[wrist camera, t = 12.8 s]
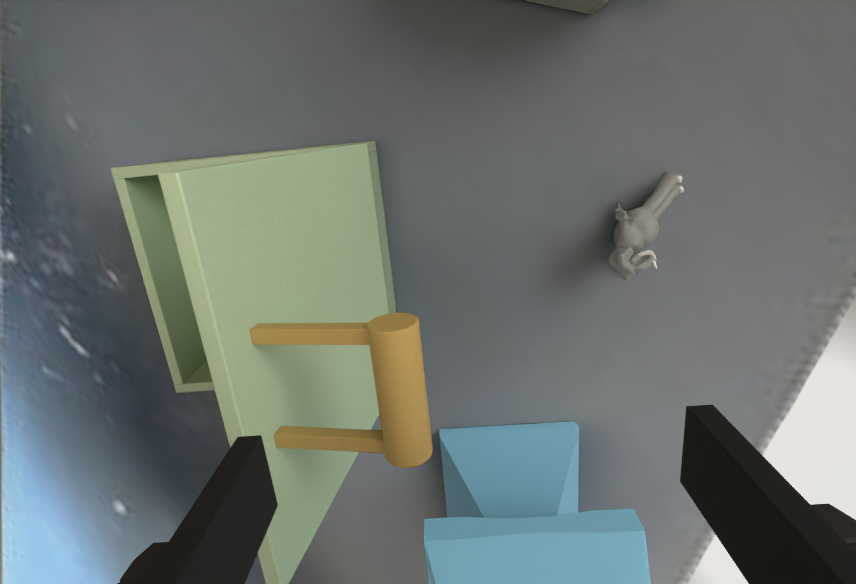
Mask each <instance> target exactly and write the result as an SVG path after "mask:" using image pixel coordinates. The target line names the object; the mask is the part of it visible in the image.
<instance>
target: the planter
mask: <svg viewBox="0 0 856 584" xmlns="http://www.w3.org/2000/svg"><path fill="white" fill-rule="evenodd" d="M440 446H441V457H442V467H443V477H444V488H445V498H446V508H447V518H432V519H425V522H424V549H425V557H426V565H427V574H428V581H429V584H651V581H650V573H649V564H648V555H647V547H646V538H645V530H644V528H643V526H642V524H641V522H640V520H639V518H638V516H637V514H636V512H635V510H634V508H633V509H613V510H593V511H585V512H578V475H579V427H578V425H577V422H576V421H568V422H551V423H534V424H518V425H501V426H484V427H468V428H451V429H440Z"/></svg>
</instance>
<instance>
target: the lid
mask: <svg viewBox="0 0 856 584" xmlns="http://www.w3.org/2000/svg"><path fill="white" fill-rule="evenodd" d="M158 177H159V181H160V184H161V188H162V192H163V196H164V200H165V203H166V207H167V211H168V215H169V219H170V222H171V226H172V230H173V234H174V237H175V241H176V245H177V249H178V253H179V256H180V260H181V264H182V268H183V271H184V275H185V279H186V283H187V287H188V290H189V294H190V298H191V302H192V306H193V309H194V313H195V317H196V321H197V324H198V328H199V332H200V336H201V340H202V343H203V347H204V351H205V355H206V358H207V362H208V366H209V370H210V374H211V377H212V381H213V385H214V389H215V393H216V396H217V400H218V404H219V408H220V411H221V415H222V419H223V423H224V427H225V430H226V434H227V438H228V442H229V445H230V448H231V446H232V445H233V443H234V442H235V440H236V439H237V437H241V436H256V435H261V436H262V440H263V444H264V448H265V453H266V457H267V461H268V465H269V469H270V474H271V478H272V482H273V486H274V490H275V495H276V499H277V503H278V507H277V509H276V511H275V514H274V516H273V518H272V521H271V523H270V525H269V528H268V530H267V532H266V535H265V537H264V539H263V542H262V544H261V546H260V549H259V551H258V555H259V559H260V563H261V567H262V570H263V574H264V578H265V582H266V584H289V582H290V580H291V578H292V576H293V574H294V572H295V570H296V569H297V567H298V565H299V563H300V561H301V559H302V557H303V556H304V554H305V552H306V550H307V548H308V546H309V544H310V542H311V541H312V539H313V537H314V535H315V533H316V531H317V529H318V528H319V526H320V524H321V522H322V520H323V518H324V516H325V514H326V513H327V511H328V509H329V507H330V505H331V503H332V501H333V500H334V498H335V496H336V494H337V492H338V490H339V488H340V486H341V485H342V483H343V481H344V479H345V477H346V475H347V473H348V471H349V470H350V468H351V466H352V464H353V462H354V460H355V458H356V457H357V455H358V453H359V452H367V453H384V454H385V456H386V459H387V461H388V462H389V463H390V464H392V465H393V466H396V467H400V468H411V467H416V466H419V465H421V464H423V463H425V462H426V461H427V460H428V459H429V458H430V457H431V454H432V451H433V448H432V439H431V429H430V420H429V411H428V402H427V393H426V384H425V374H424V365H423V356H422V347H421V338H420V329H419V320H418V318H417V317H416V316H415V315H413V314H409V313H390V314H389V311H388V304H387V296H386V288H385V281H384V273H383V265H382V257H381V250H380V242H379V234H378V226H377V219H376V211H375V203H374V195H373V188H372V180H371V172H370V164H369V157H368V149H367V143H360V144H352V145H345V146H339V147H332V148H325V149H319V150H312V151H305V152H298V153H292V154H285V155H278V156H272V157H265V158H258V159H251V160H245V161H238V162H231V163H225V164H218V165H211V166H204V167H198V168H191V169H184V170H178V171H171V172H164V173H160V174H158ZM378 415H380V422H381V429H382V430H371V429H372V427H373V425H374V423H375V421H376V419H377V417H378Z"/></svg>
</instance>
